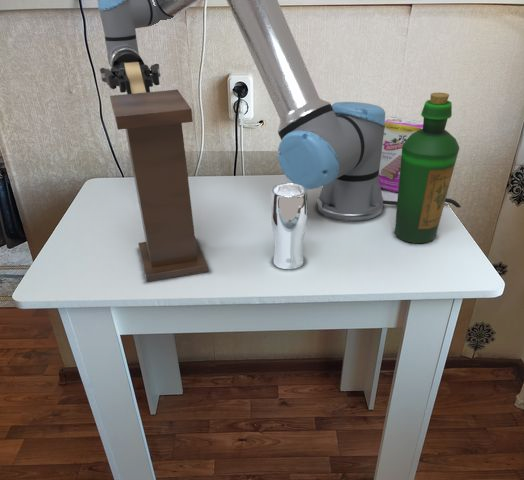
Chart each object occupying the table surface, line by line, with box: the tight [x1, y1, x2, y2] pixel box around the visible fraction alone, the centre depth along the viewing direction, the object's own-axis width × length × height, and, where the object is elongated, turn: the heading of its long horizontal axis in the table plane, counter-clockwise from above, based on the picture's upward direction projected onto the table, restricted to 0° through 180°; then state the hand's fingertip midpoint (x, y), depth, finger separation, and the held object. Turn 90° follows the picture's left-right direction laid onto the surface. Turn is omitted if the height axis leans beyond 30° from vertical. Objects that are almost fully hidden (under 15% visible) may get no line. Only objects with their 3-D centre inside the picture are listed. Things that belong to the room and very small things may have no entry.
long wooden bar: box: [124, 62, 146, 94], centre depth 105 cm, size 22×4×4 cm, turn 17°
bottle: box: [394, 91, 460, 244], centre depth 103 cm, size 11×11×28 cm
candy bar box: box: [378, 115, 423, 194], centre depth 126 cm, size 11×5×16 cm, turn 58°
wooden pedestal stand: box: [109, 89, 209, 283], centre depth 96 cm, size 14×12×30 cm
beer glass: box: [270, 182, 309, 270], centre depth 99 cm, size 7×7×15 cm
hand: (138, 87), depth 103 cm, fingers closed on long wooden bar, 3 cm apart
